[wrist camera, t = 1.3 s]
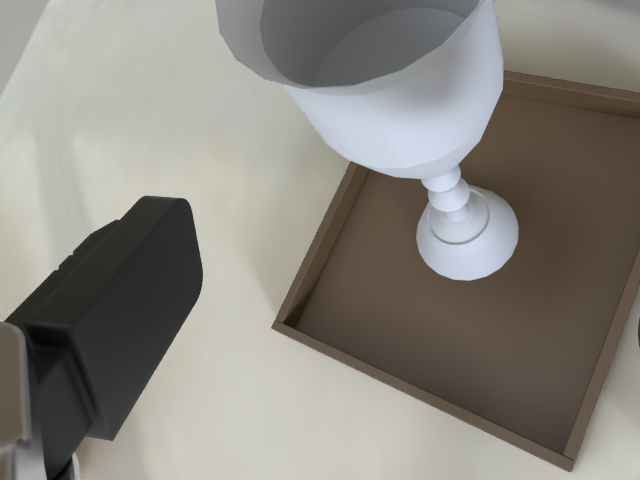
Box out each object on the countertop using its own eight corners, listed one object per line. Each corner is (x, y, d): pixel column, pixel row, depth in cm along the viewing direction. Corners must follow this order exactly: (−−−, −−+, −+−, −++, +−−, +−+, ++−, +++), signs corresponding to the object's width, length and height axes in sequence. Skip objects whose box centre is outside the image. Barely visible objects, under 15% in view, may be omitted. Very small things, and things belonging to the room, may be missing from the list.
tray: (409, 72, 34) (402, 53, 32) (697, 124, 27) (705, 103, 25) (285, 334, 31) (270, 328, 29) (570, 472, 24) (570, 472, 22)
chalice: (570, 208, 27) (574, -131, 12) (494, 327, 27) (393, 137, 11) (441, 150, 31) (313, -166, 15) (371, 254, 30) (167, 34, 15)
